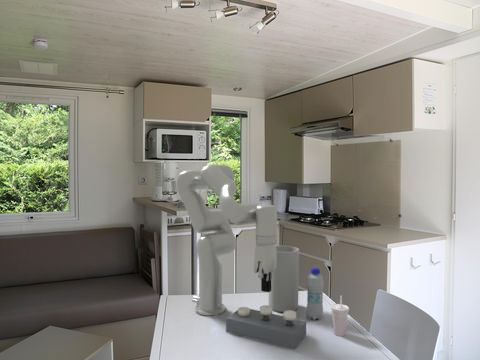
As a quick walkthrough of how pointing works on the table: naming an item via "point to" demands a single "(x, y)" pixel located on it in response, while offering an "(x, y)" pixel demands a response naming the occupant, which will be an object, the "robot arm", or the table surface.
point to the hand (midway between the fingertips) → (266, 291)
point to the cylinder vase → (285, 280)
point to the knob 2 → (289, 317)
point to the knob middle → (266, 312)
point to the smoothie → (339, 317)
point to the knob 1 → (243, 311)
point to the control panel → (267, 328)
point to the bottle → (315, 294)
